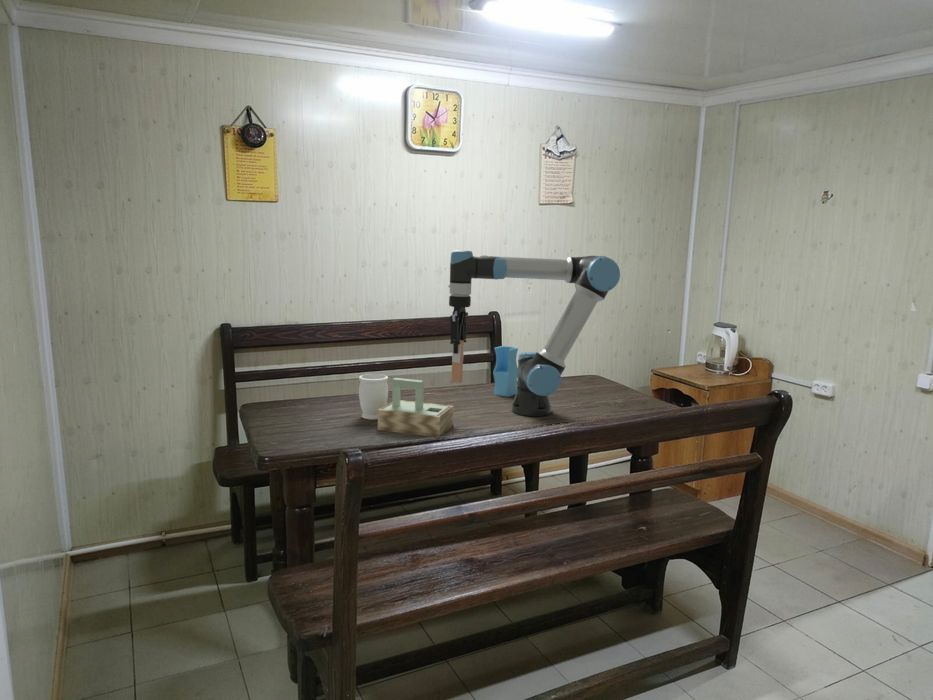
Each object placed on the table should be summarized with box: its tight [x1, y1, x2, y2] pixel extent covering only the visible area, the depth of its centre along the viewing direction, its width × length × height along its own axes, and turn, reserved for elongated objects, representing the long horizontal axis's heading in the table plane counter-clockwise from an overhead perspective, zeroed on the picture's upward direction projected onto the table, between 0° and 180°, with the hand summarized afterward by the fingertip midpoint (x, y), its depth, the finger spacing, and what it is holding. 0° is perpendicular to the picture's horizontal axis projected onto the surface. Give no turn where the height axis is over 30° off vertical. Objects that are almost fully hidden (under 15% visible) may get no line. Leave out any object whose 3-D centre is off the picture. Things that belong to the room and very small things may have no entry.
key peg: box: [451, 340, 465, 384], centre depth 223 cm, size 3×3×15 cm
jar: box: [358, 373, 389, 421], centre depth 228 cm, size 11×10×15 cm
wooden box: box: [377, 399, 455, 438], centre depth 217 cm, size 22×15×7 cm
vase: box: [492, 345, 519, 398], centre depth 268 cm, size 8×8×20 cm
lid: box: [383, 377, 450, 416], centre depth 216 cm, size 19×12×10 cm, turn 73°
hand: (457, 361), depth 223 cm, fingers closed on key peg, 3 cm apart
